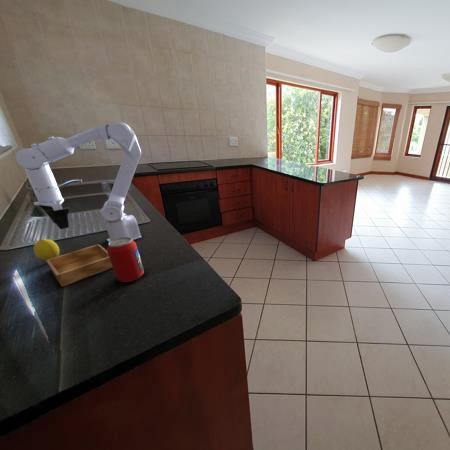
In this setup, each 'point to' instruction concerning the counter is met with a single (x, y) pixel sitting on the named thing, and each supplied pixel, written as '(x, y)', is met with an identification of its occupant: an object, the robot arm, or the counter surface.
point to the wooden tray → (79, 264)
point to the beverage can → (125, 259)
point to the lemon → (46, 249)
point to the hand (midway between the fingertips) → (61, 225)
